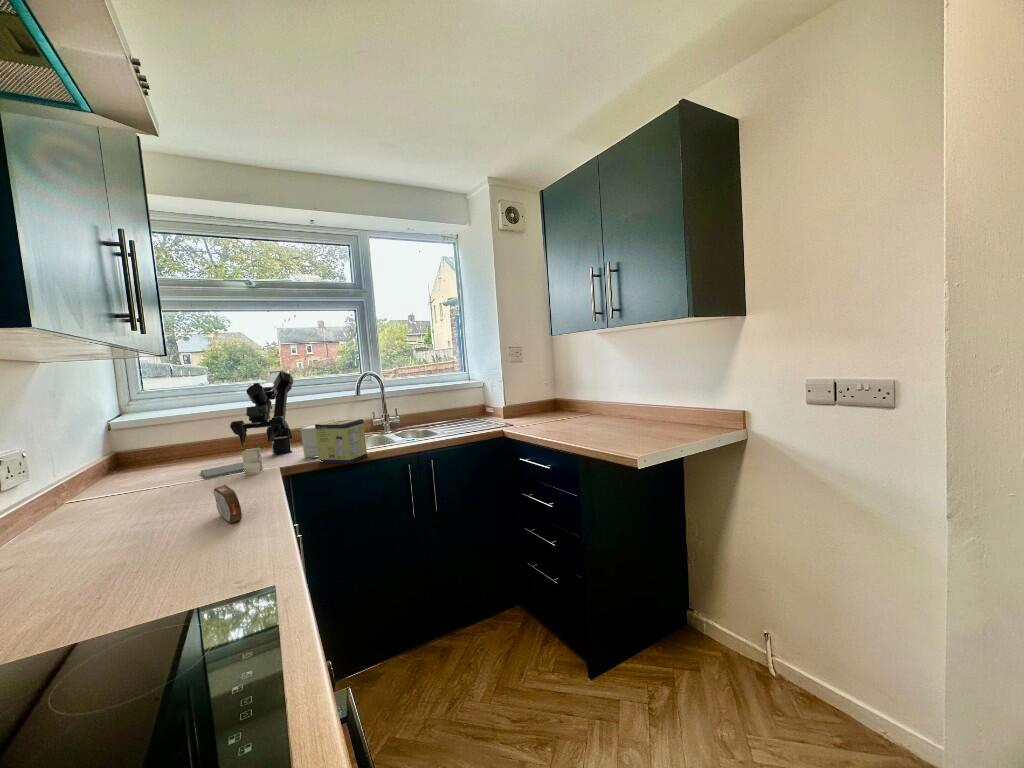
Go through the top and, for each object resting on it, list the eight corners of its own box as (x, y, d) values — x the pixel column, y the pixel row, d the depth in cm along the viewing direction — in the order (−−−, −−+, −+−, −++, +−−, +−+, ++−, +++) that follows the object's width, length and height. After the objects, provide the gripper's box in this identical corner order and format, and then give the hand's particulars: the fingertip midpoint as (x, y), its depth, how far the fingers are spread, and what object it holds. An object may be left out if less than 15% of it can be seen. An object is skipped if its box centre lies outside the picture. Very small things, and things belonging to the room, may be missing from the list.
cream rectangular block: (249, 472, 162) (246, 449, 161) (262, 470, 163) (259, 447, 162) (245, 475, 158) (242, 451, 157) (258, 474, 158) (255, 450, 158)
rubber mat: (242, 464, 177) (242, 462, 176) (249, 469, 166) (249, 467, 166) (201, 473, 167) (200, 470, 167) (205, 479, 157) (205, 476, 157)
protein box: (337, 456, 178) (333, 419, 177) (368, 456, 173) (364, 418, 171) (318, 463, 168) (313, 424, 167) (350, 464, 163) (345, 423, 162)
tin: (244, 523, 109) (239, 491, 108) (229, 527, 107) (225, 494, 106) (228, 511, 119) (224, 481, 119) (215, 515, 117) (210, 485, 116)
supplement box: (329, 452, 186) (326, 424, 185) (320, 457, 179) (316, 427, 178) (313, 453, 187) (310, 425, 186) (303, 458, 179) (300, 428, 178)
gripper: (228, 401, 166) (219, 433, 156) (280, 396, 170) (275, 428, 160) (239, 418, 174) (231, 450, 164) (289, 413, 178) (284, 444, 168)
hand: (255, 443), depth 164 cm, fingers open, 9 cm apart
